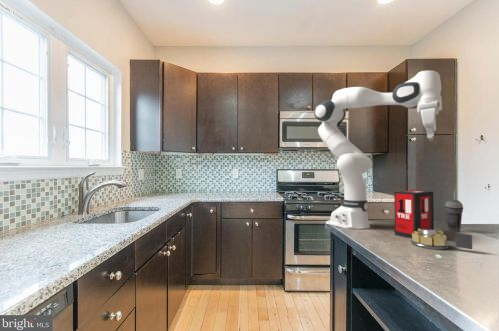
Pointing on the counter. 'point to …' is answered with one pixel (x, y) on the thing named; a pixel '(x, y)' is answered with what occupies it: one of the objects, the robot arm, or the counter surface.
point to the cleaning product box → (413, 212)
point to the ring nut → (443, 239)
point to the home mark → (438, 256)
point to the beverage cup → (454, 214)
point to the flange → (429, 233)
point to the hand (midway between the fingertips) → (430, 139)
